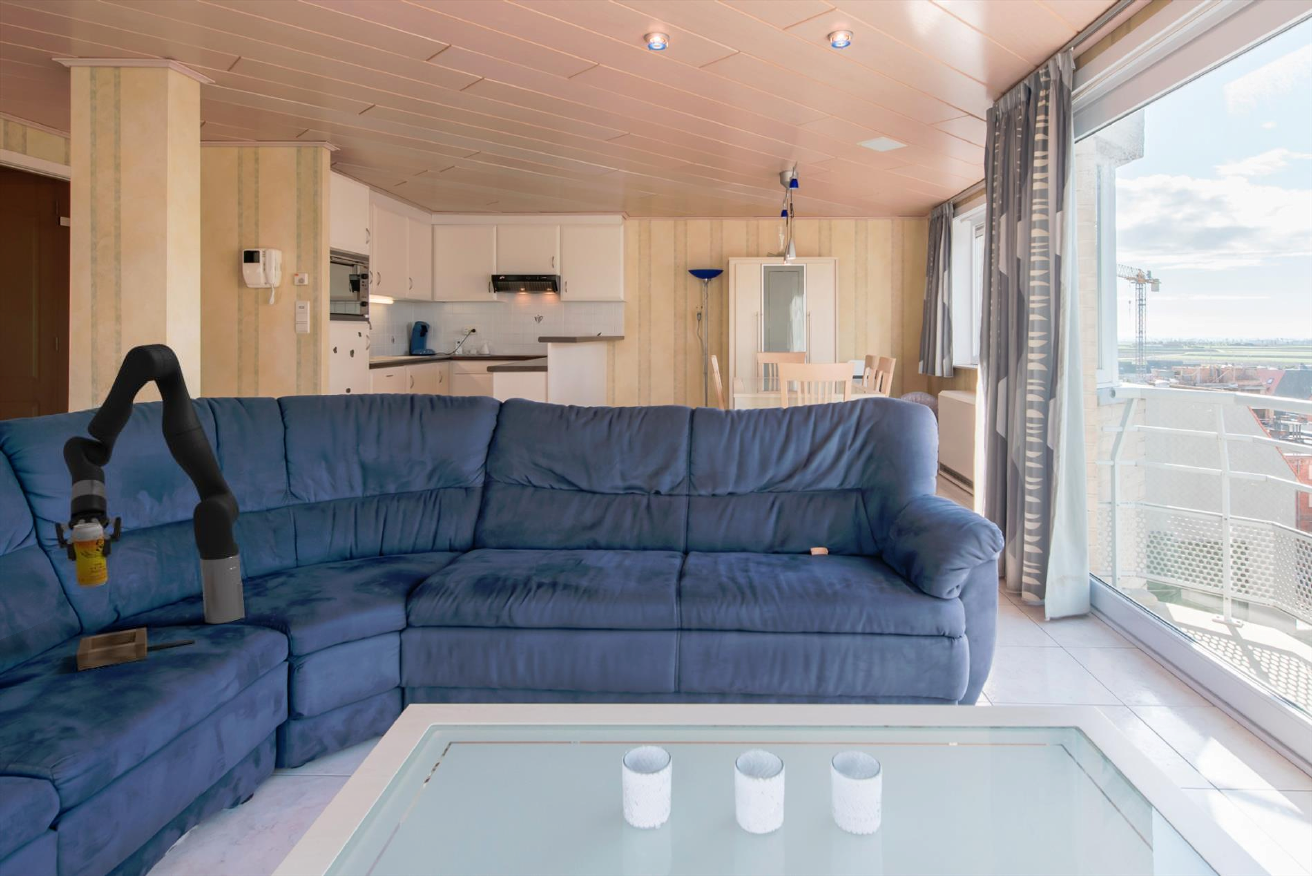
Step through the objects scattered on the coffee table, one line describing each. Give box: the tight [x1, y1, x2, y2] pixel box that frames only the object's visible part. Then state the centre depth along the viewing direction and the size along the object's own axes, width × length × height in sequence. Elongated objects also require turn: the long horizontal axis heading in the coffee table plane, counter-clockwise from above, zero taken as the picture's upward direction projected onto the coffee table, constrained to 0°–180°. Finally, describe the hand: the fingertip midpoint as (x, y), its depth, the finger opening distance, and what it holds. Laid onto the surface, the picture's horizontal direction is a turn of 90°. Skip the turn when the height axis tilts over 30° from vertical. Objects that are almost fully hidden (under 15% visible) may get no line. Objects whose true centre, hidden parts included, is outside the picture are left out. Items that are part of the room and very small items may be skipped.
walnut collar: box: [76, 627, 196, 671], centre depth 195 cm, size 23×13×4 cm, turn 121°
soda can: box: [71, 523, 109, 589], centre depth 200 cm, size 6×6×15 cm
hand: (89, 557), depth 198 cm, fingers closed on soda can, 6 cm apart
